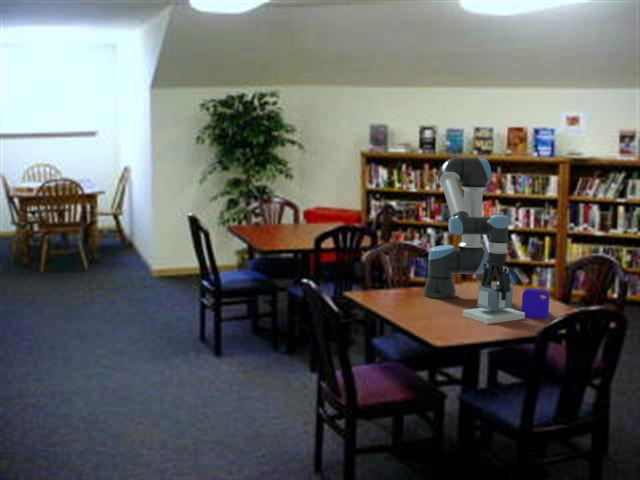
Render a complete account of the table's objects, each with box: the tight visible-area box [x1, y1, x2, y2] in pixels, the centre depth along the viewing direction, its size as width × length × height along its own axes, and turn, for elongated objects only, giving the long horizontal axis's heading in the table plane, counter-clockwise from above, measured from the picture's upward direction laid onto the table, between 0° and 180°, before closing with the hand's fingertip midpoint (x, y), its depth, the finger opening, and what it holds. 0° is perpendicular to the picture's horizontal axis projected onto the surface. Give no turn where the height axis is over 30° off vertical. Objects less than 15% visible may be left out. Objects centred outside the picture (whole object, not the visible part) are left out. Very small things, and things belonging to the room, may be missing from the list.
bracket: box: [520, 287, 551, 320], centre depth 369 cm, size 18×11×12 cm, turn 161°
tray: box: [462, 307, 526, 325], centre depth 360 cm, size 15×21×3 cm
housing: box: [476, 281, 514, 310], centre depth 359 cm, size 8×13×10 cm, turn 121°
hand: (494, 305), depth 359 cm, fingers closed on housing, 8 cm apart
